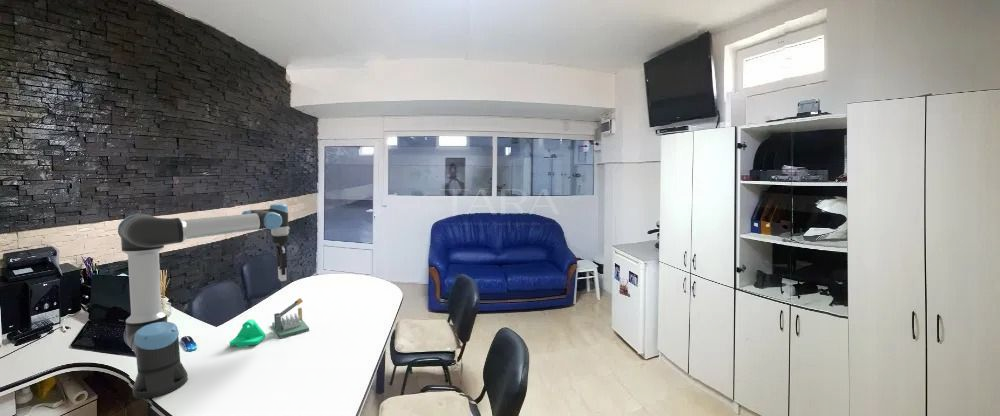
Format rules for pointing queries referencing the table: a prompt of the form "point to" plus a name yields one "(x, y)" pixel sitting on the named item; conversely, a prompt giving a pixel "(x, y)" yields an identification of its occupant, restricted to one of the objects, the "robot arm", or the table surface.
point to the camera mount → (248, 335)
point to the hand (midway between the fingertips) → (282, 279)
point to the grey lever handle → (290, 307)
